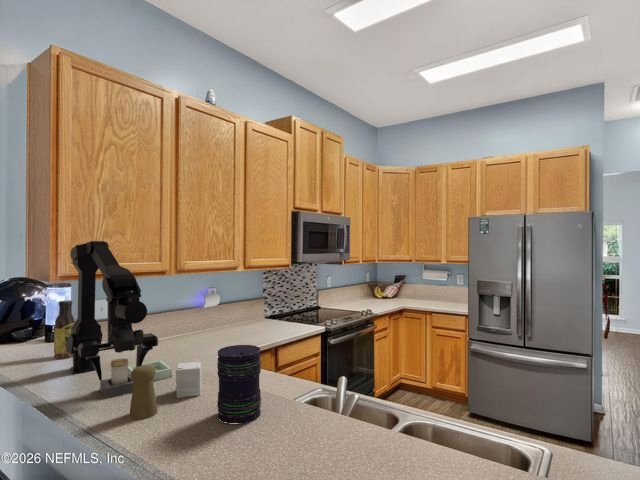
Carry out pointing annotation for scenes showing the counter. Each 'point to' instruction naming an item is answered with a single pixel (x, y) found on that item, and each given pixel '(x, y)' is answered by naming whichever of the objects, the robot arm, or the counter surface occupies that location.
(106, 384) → the socket block
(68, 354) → the sauce bottle
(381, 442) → the counter surface
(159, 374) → the parts tray
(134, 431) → the counter surface
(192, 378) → the skincare box
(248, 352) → the storage jar
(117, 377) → the fuse
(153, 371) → the olive pepper mill
